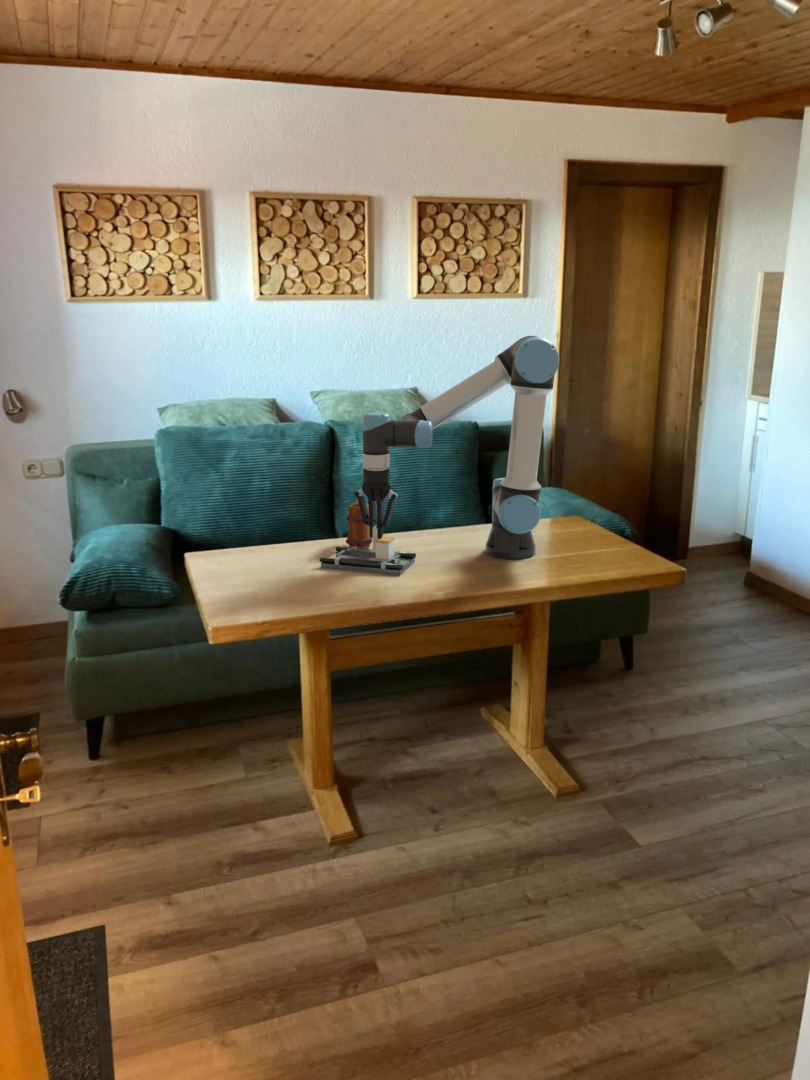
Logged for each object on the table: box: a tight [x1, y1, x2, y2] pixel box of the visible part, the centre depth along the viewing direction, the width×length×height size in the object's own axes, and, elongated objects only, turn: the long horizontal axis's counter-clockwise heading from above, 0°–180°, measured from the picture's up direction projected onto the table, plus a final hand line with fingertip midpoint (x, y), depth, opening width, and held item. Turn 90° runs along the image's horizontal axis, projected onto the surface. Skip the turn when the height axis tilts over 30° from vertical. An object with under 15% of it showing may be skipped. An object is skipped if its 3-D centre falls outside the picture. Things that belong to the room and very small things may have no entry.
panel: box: [319, 546, 417, 577], centre depth 249 cm, size 25×14×3 cm, turn 72°
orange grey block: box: [375, 535, 395, 561], centre depth 247 cm, size 4×5×7 cm
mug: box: [345, 497, 373, 549], centre depth 266 cm, size 15×8×15 cm, turn 179°
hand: (376, 548), depth 248 cm, fingers closed
